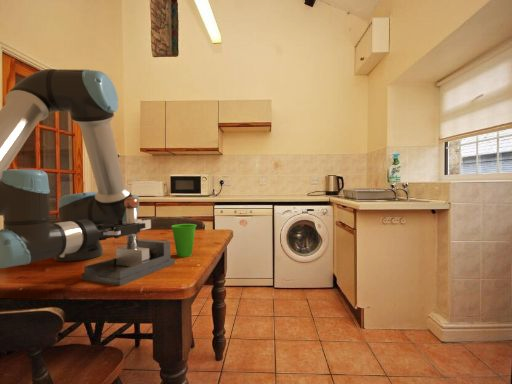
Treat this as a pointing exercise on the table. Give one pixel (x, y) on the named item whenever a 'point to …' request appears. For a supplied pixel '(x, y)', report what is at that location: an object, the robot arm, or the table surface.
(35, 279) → the table surface
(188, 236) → the cup
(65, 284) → the table surface
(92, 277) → the base
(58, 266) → the table surface
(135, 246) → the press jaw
